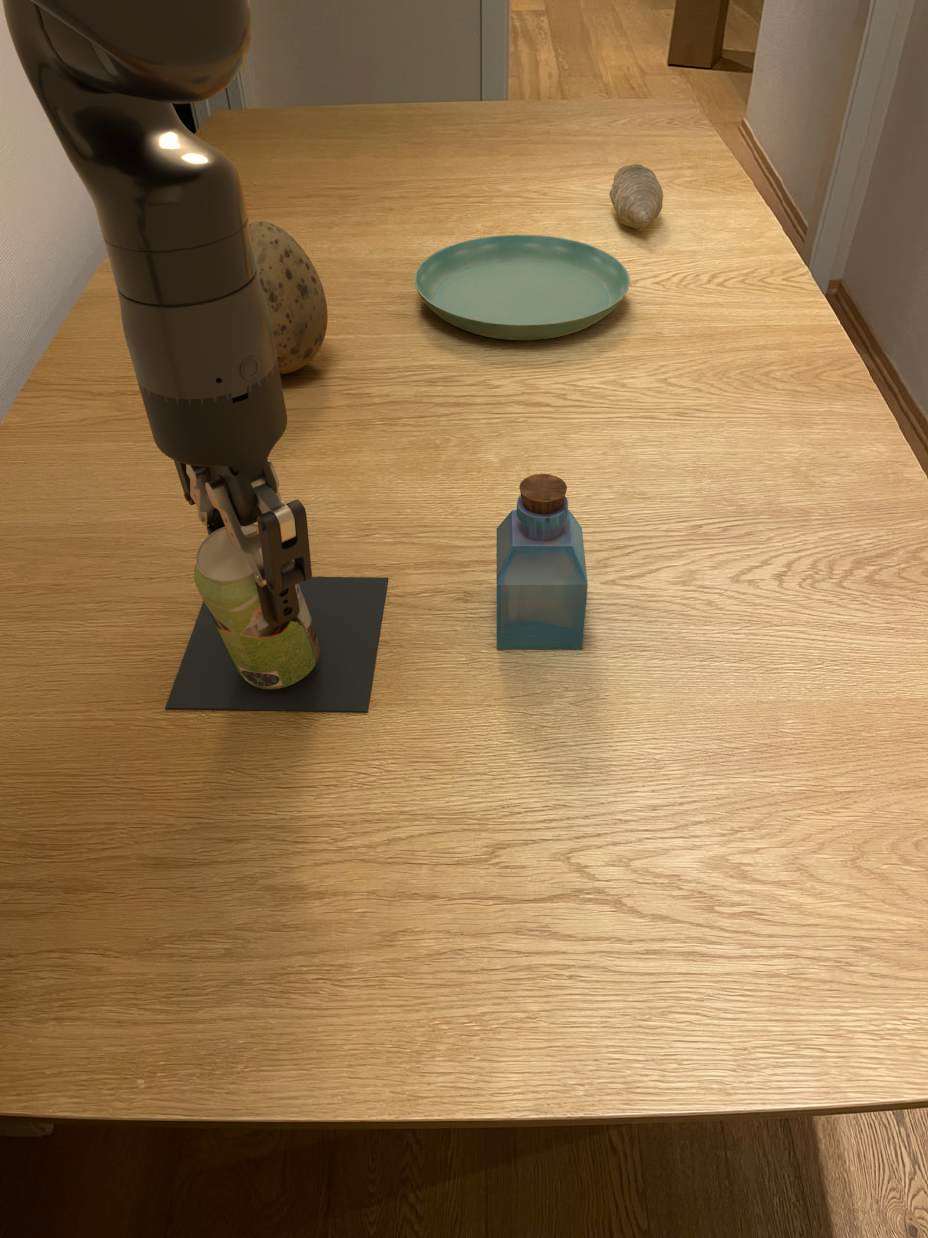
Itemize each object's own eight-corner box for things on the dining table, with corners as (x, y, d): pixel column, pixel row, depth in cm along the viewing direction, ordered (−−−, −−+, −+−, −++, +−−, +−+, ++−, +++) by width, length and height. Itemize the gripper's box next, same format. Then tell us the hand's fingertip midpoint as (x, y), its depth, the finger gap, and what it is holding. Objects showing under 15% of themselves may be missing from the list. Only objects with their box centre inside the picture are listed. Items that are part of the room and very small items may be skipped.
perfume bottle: (577, 592, 75) (586, 460, 67) (582, 649, 70) (593, 515, 62) (496, 592, 75) (496, 461, 67) (496, 648, 70) (496, 515, 62)
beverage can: (338, 650, 70) (317, 517, 62) (283, 720, 66) (252, 586, 57) (265, 626, 72) (236, 494, 64) (207, 693, 68) (166, 559, 59)
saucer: (608, 364, 101) (610, 334, 98) (387, 339, 106) (384, 310, 104) (641, 269, 117) (644, 241, 115) (450, 251, 123) (449, 224, 120)
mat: (367, 712, 66) (367, 711, 66) (165, 709, 67) (165, 707, 67) (388, 578, 76) (388, 577, 76) (212, 577, 77) (212, 575, 77)
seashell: (616, 222, 121) (631, 152, 118) (598, 225, 134) (611, 162, 131) (666, 231, 122) (682, 162, 119) (643, 233, 134) (657, 171, 132)
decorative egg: (303, 334, 107) (283, 194, 97) (353, 373, 101) (336, 227, 90) (213, 363, 103) (182, 220, 92) (259, 406, 96) (230, 256, 86)
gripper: (89, 330, 55) (159, 560, 66) (200, 438, 46) (259, 681, 58) (210, 293, 58) (257, 518, 70) (335, 388, 50) (365, 627, 61)
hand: (258, 591), depth 64 cm, fingers closed on beverage can, 6 cm apart
